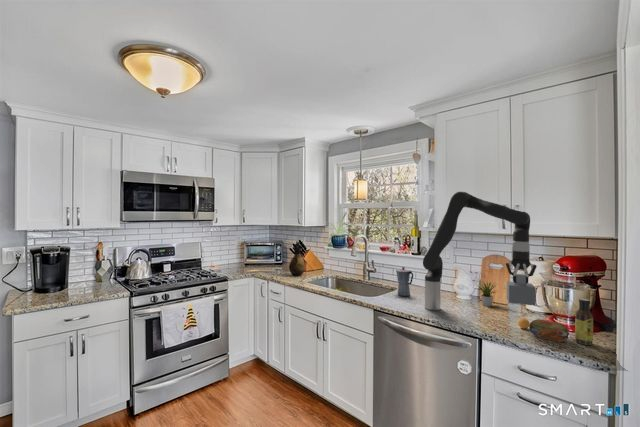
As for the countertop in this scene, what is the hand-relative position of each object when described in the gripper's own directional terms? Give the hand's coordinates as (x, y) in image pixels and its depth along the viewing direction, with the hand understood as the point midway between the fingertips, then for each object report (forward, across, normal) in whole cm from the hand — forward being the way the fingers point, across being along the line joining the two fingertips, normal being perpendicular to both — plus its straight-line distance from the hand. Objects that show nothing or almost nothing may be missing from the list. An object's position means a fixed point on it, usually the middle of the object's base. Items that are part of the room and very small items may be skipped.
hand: (520, 283), depth 163 cm
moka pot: (+23, -66, +41) cm, 81 cm away
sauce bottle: (+23, +24, -10) cm, 34 cm away
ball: (+21, +2, +1) cm, 21 cm away
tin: (+23, +10, -10) cm, 27 cm away
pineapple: (+24, -171, +69) cm, 185 cm away
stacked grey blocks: (+9, 0, 0) cm, 9 cm away
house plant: (+23, -12, +40) cm, 48 cm away
